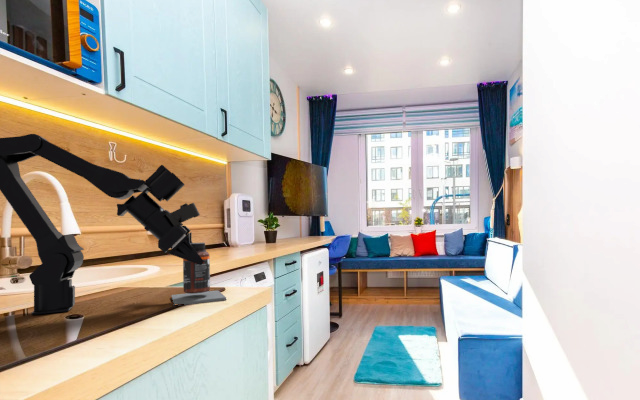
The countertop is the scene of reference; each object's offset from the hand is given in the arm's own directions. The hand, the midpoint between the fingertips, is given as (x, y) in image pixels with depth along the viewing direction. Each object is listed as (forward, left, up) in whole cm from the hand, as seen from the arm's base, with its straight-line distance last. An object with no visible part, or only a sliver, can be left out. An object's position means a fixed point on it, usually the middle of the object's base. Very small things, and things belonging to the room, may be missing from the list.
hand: (202, 262), depth 92 cm
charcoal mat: (-1, 0, -8) cm, 8 cm away
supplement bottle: (-1, 0, -7) cm, 7 cm away
